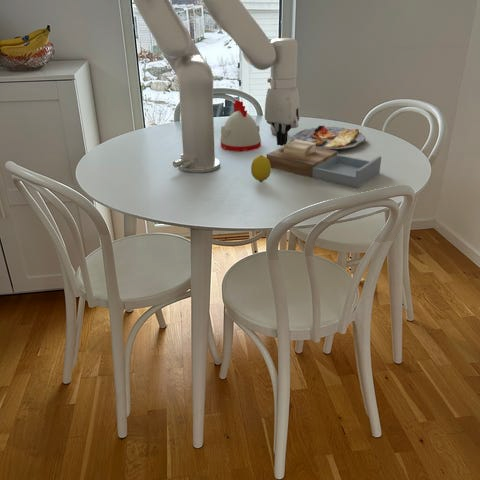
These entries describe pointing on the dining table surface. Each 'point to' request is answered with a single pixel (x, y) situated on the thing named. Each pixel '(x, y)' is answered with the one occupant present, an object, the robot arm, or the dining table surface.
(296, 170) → the wooden square board
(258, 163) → the lemon
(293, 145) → the tile
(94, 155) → the dining table surface
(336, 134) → the food plate
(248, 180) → the dining table surface
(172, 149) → the dining table surface
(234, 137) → the kitchen timer
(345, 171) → the box
